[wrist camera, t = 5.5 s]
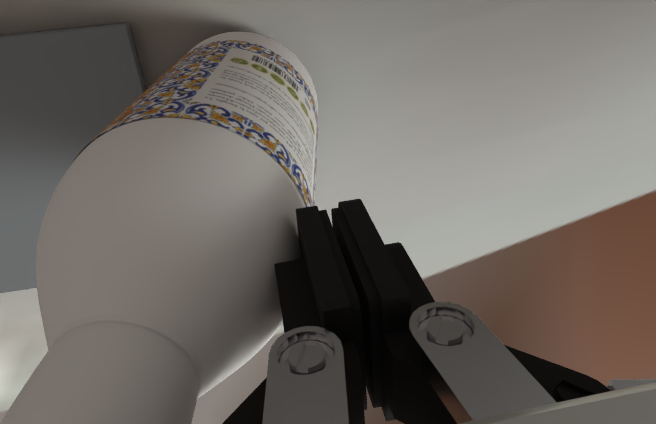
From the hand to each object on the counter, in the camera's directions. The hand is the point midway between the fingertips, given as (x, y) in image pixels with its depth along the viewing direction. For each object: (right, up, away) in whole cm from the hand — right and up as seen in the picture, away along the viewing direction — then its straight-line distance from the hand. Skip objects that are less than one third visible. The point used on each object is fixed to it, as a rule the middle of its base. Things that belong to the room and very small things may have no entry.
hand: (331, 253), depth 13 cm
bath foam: (-4, +6, +11) cm, 13 cm away
